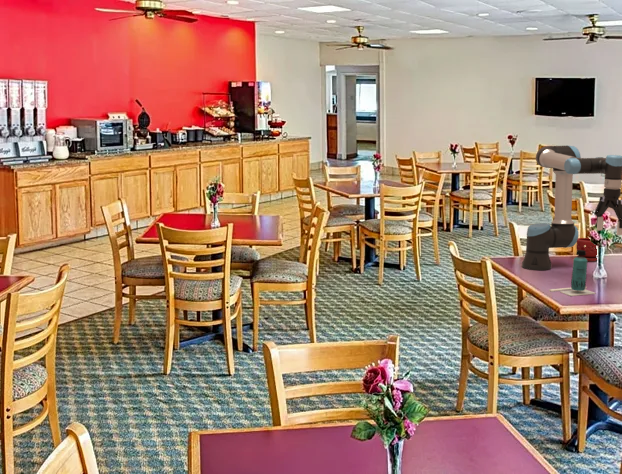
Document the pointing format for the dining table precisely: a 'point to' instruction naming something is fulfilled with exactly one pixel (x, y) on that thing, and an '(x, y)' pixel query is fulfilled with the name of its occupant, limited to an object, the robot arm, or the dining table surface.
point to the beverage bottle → (579, 272)
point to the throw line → (561, 289)
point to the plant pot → (587, 249)
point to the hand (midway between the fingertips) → (609, 232)
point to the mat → (577, 292)
